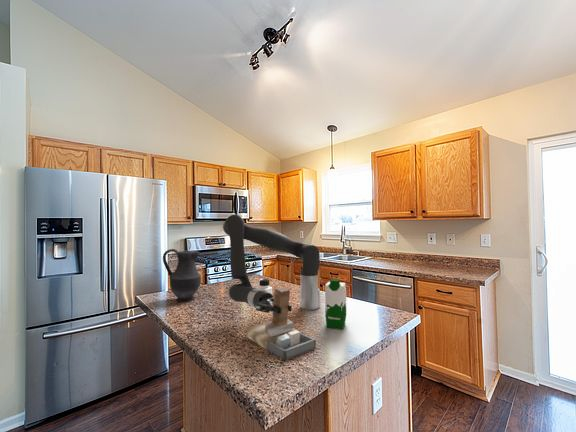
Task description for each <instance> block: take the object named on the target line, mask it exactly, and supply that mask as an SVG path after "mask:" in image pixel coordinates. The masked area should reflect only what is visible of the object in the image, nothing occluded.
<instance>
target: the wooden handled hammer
mask: <svg viewBox="0 0 576 432" xmlns="http://www.w3.org/2000/svg"><path fill="white" fill-rule="evenodd" d="M290 293H291V290H290V289H288V288H287V287H284V286H281V287H275V288H274V292H273V297H274V306H275V305H276V306H278V307H281V309H282V313H281V314H278V313H276V312H272V318H271V319H272V320H271V321H272V322H271V323H268V324H265V333H267V334H268V335H269V336H270V337H273V336H276V335H279V334H282V333H285V332H288V331H291V330H293V328H294V322H293V321H292V320H290V319H289V317H288V316H289V311H288V306H289V305H290Z"/></svg>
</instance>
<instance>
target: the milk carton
mask: <svg viewBox="0 0 576 432" xmlns="http://www.w3.org/2000/svg"><path fill="white" fill-rule="evenodd" d="M324 288H325V289H324V295H325V296H324V298H325V299H324V302H325V303H324V304H325V305H324V306H325V308H324V311H325V313H324V315H325V316H324V317H325V325H326V326H325V327H326V328H327V329H328V328H329V329H335V328H337V330H344V328H345V325H346V319H347V288H346V282H341V281H340V279H337V278H331V279H329V281H328V282H326V283H325V286H324Z"/></svg>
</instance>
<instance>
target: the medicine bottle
mask: <svg viewBox="0 0 576 432" xmlns="http://www.w3.org/2000/svg"><path fill="white" fill-rule="evenodd" d="M255 288H256V289H261V290H264V291H266V292H269V293H271V294H272V295H273V287H272V286H270V279H268V278H261V279H259V280H258V287H255Z"/></svg>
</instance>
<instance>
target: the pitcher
mask: <svg viewBox="0 0 576 432" xmlns="http://www.w3.org/2000/svg"><path fill="white" fill-rule="evenodd" d="M171 252H174V253H175V254H176V255H177V260H178V263H177V266H176V268H175V271H173V272H172V270H171V268H170V266H169V263H168V262H167V259H166V258H167V257H166V256H167V254H169V253H171ZM162 255H163V256H162V262H163V265H164V267H165V269H166V270H167V271H166V272H167V273H168V275H169V286H170V290H171V292H172V293H173V295H175V296H176V298H177V299H176V302H177V301H178V302H177V303H188V301H190V302H192V300H193V301H194V300H195V297H194V295H195V293H197V292H198V290H199V289H200V287H201V281H202V276H201V274H200V273H199V271H198V269H197V265H196V260H197V258H198V257H199V255H200V251H198V250H181V251H180V250H179V251H178V250H177V249H174V248H170V249H167V250H166V251H165V252H164V253H163V254H162Z"/></svg>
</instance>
